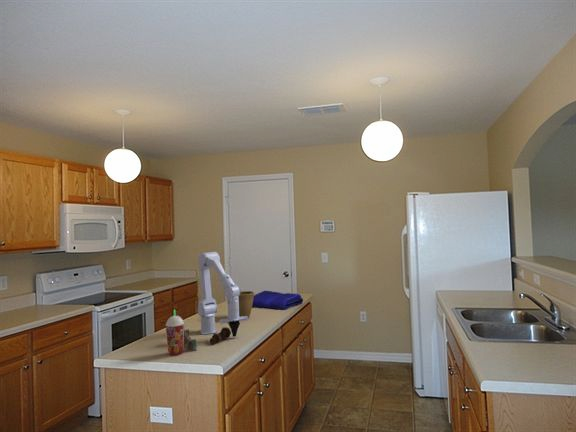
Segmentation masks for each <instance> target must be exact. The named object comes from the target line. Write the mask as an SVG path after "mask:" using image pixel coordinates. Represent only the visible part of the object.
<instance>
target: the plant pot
mask: <svg viewBox="0 0 576 432" xmlns="http://www.w3.org/2000/svg"><path fill="white" fill-rule="evenodd" d="M254 295H255V293H254V291H251V290H250V291H249V290H244V291H243V290H242V291H241V293H240V295H239V296H238V297H239V317H241V316H247V317H248V320H249V319H250V316H251V314H252V308H253V307H252V304H253V297H254Z"/></svg>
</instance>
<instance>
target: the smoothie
mask: <svg viewBox="0 0 576 432" xmlns="http://www.w3.org/2000/svg"><path fill="white" fill-rule="evenodd" d="M165 330H166V331H165V333H166V341H167V351H168V354H169V355H170V356H173V355H174V356H179V355H182V354H183V352H184V350H185V349H184V348H185V345H184V344H185V342H184V330H185V321H184V320H183V318H182V317H181V316H180V315H176V309H174V310H173V315H172V316H170V317H169V318H168V319H167V320H166V323H165Z"/></svg>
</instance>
